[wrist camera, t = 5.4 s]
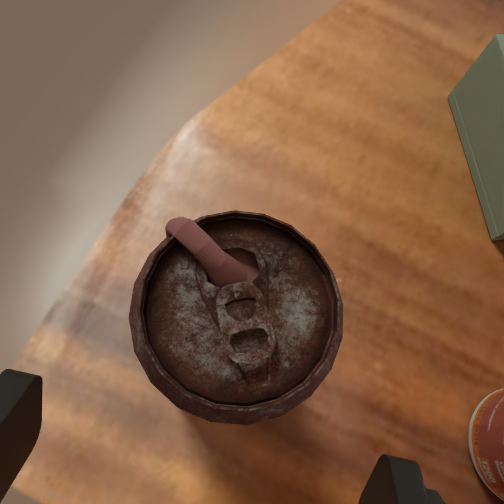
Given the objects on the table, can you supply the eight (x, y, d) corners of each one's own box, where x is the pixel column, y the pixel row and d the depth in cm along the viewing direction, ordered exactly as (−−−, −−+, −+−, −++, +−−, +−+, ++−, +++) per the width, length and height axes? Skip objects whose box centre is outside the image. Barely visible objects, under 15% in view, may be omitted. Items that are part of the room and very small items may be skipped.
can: (215, 276, 27) (226, 153, 14) (299, 351, 26) (397, 297, 13) (138, 356, 25) (65, 302, 12) (225, 439, 24) (251, 481, 11)
